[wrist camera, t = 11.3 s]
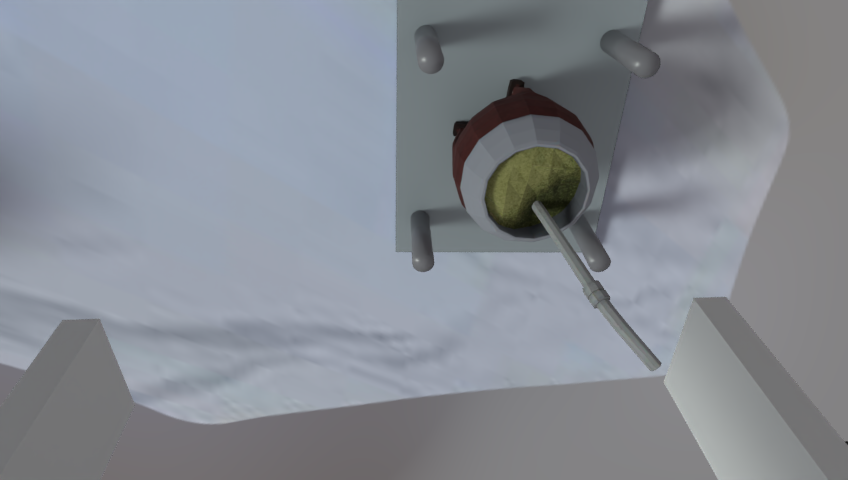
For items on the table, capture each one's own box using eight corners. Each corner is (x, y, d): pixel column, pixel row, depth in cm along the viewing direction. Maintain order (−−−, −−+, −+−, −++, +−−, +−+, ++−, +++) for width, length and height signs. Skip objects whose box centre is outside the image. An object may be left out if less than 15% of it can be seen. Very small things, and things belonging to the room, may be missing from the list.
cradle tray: (397, -18, 29) (398, -1, 24) (644, -11, 29) (694, 8, 24) (395, 245, 37) (395, 298, 32) (587, 246, 38) (616, 298, 33)
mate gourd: (455, 65, 30) (500, 187, 17) (595, 80, 31) (736, 208, 18) (437, 188, 34) (462, 362, 21) (562, 199, 35) (659, 373, 22)
